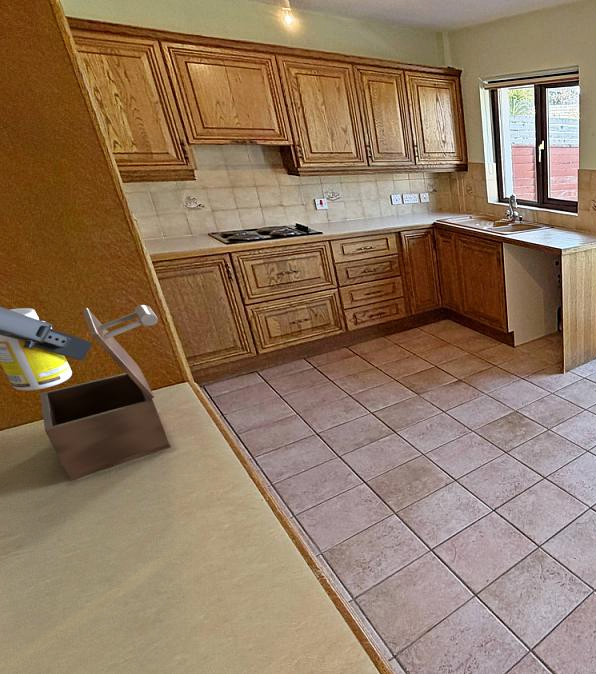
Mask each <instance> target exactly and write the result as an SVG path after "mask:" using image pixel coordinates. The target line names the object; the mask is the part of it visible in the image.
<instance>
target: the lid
mask: <svg viewBox="0 0 596 674" xmlns="http://www.w3.org/2000/svg"><path fill="white" fill-rule="evenodd" d="M82 313H83V315H84V319H85V321H86V323H87V326H88V329H89V331H90V334H91V336H92V338H93V339H94V340H95V341H96V342H97V344H98V345H100V346H101V348H102V349H103V350H104V351H105V352H106V354H108V356H109V357H111V358H112V360H113V361H114V362H115V363H116V364H117V365H118V366H119V367H120V369H122V371H123V372H124V373H126V374H127V375H128V376H129V377H130V378H131V379H132V380H133V382H134V383H135V384H136V385H137V386H138V387H139V388H140V389H141V390H142V391H143V393H144V394H145V395H146V396H147V397H148V398H149V399H154V398H155V395H154V393H153V391H152V389H151V387H150V385H149V384H148V381H147V379H146V378H145V375H144V373H143V371H142V369H141V368H140V366H139V365H138V364H137V363H136V362H135V360H134V359H133V358H132V357H131V356H130V355H129V353H128V352H127V351H126V350H125V349H124V348H123V347H122V346H121V344H120V343H119V342H118V341H117V339H115V337H114V336H117V335H120V334H123V333H124V332H127V331H130V330H133V329H134V328H137V327H140V326H142V325H144V326H147V327H151V326H155V325H156V324H157V323H158V321H159V317H157V315H156V313H155V312H154V311H153V309H152V308H151V306H149V305H147V304H140V305H138V306H136V307H135V309H134V311H133V312H131V313H129V314H126V315H124V316H121V317H119V318H116V319H113V320H111V321H108V322H105V323H103V324H102V323H101V321H100V320H98V318H97V317H96V316H95V315H94V314H93V313H92V311H91V310H90V309H89V308H88V307H86V308H83V309H82ZM135 318H138V319H139V320H136V321H134V322H130V323H129V324H126V325H123V326H121V327H119V328H116V329H113V330H111V331H109V330H107V329H109V328H112V327H114V326H117V325H119V324H123V323H125V322H127V321H130V320H133V319H135Z"/></svg>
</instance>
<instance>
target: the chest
mask: <svg viewBox="0 0 596 674" xmlns="http://www.w3.org/2000/svg"><path fill="white" fill-rule="evenodd" d="M39 397H40V403H41V411H42V418H43V419H42V420H43V425H44V426H43V427H44V431H45V434H46V436H47V438H48V440H49V441H50V444H51V445H52V448H53V450H54V452H55V454H56V456H57V458H58V459H59V461H60V463H61V465H62V467H63V469H64V471H65V473H66V476H67V478H68V480H69V481H70V482H71V481H74V480H76V479H80V478H82V477H86V476H89V475H91V474H94V473H98V472H101V471H103V470H107V469H110V468H113V467H116V466H119V465H122V464H124V463H127V462H130V461H134V460H137V459H140V458H142V457H146V456H149V455H151V454H154V453H158V452H161V451H164V450H167V449H170V448H172V447H171V446H172V445H171V443H170V441H169V439H168V436H167V433H166V430H165V427H164V425H163V422H162V420H161V418H160V414H159V412H158V409H157V407H156V403H155V402H154V398H152V399H149V398H148V397H147V396H146V395H145V394H144V393H143V391H142V390H141V389H140V388H139V387H138V386H137V385H136V384H135V383H134V382H133V380H132V379H131V378H130V377H129V376H128V375H127V374H126V373H125V372H124V373H119V374H115V375H112V376H107V377H103V378H98V379H94V380H90V381H86V382H85V381H84V382H82V383H77V384H72V385H68V386H65V387H61V388H55V389H52V390H48V391H47V390H46V391H43V392H40V394H39Z"/></svg>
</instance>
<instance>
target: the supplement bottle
mask: <svg viewBox="0 0 596 674" xmlns="http://www.w3.org/2000/svg"><path fill="white" fill-rule="evenodd" d="M10 310H11V311H14V312H17V313H20V314H23V315H25V316H28V317H31V318H34V319H37V320H40V319H39V316H38V314H37V312H36V311H35V309H33V308H27V307H22V308H21V307H20V308H11V309H10ZM42 321H43V322H46V321H44V320H42ZM51 329H53V326H52V327H51ZM25 343H26V342H25V341H21V340H17V339H14V338H10V337H6V336H3V335H0V365H1V368H2V369H3V371H4V373H5V375H6V376H7V379H8V381H9V382H10V384H11V386H12V387H13V388H14V389H16V390H19V391H35V390H36V391H37V390H43V389H46V388H50V387H55V386H57V385H60V384H62V383H65V382H66V381H68V380H69V379H70V378H71V376H72V375H73V371H72V369H71V366H70V364H69V363H68V360H67V357H66V356H63V355H60V354H57V353H53V352H50V351H47V350H43V349H40V348H37V347H33V349H28V348H24V347H23V346H24V344H25Z"/></svg>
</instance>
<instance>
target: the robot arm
mask: <svg viewBox="0 0 596 674" xmlns="http://www.w3.org/2000/svg"><path fill="white" fill-rule="evenodd" d="M43 321H44V320H40V319H39V320H37V319H34V318H31V317H28V316H25V315H23V314H20V313H17V312H14V311H11V309H8V308H5V307H2V306H0V335H3V336H6V337H10V338H14V339H17V340H21V341H25V342H26V343H25V344H24V346H23V347H24V348H28V349H33V347H37V348H40V349H43V350H47V351H50V352H53V353H57V354H60V355H63V356H65V358H69V359H73V360H77V361H84V360H85V358H86V357H87V354H88V352H89V351H90V349H91V347H92V345H93V342H92V341H88V340H86V339H83V338H80V337H77V336H74V335H72V334H68V333H66V332H63V331H59V330H57V329H54V328H53V324H52V323H50V322H47V321H45V322H43ZM51 327H52V329H51Z"/></svg>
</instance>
